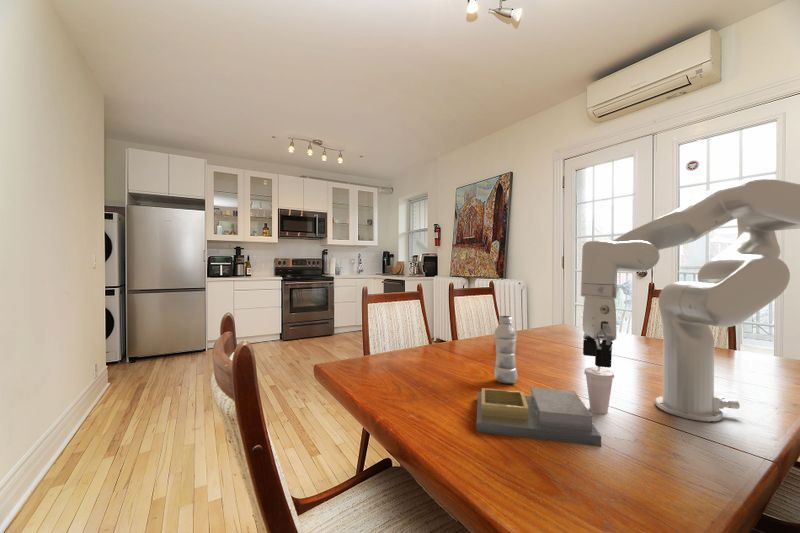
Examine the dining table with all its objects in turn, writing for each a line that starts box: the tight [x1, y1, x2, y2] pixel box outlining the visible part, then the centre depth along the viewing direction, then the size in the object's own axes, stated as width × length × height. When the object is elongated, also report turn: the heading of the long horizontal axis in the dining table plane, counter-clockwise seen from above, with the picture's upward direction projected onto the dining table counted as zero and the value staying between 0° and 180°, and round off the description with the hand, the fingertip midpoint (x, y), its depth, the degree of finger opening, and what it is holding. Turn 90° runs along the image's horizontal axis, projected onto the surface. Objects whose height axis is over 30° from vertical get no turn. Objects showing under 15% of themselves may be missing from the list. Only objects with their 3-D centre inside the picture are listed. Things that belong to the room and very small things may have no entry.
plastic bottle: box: [493, 315, 518, 384], centre depth 102 cm, size 6×7×20 cm
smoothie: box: [583, 366, 615, 415], centre depth 83 cm, size 6×6×14 cm
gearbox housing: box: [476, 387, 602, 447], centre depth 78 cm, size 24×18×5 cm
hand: (596, 360), depth 83 cm, fingers open, 9 cm apart
